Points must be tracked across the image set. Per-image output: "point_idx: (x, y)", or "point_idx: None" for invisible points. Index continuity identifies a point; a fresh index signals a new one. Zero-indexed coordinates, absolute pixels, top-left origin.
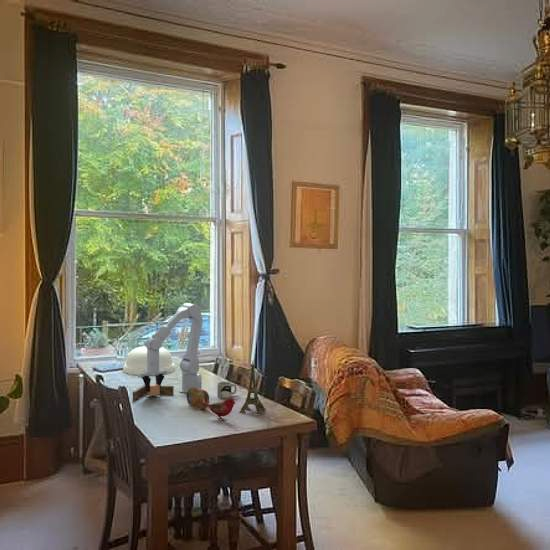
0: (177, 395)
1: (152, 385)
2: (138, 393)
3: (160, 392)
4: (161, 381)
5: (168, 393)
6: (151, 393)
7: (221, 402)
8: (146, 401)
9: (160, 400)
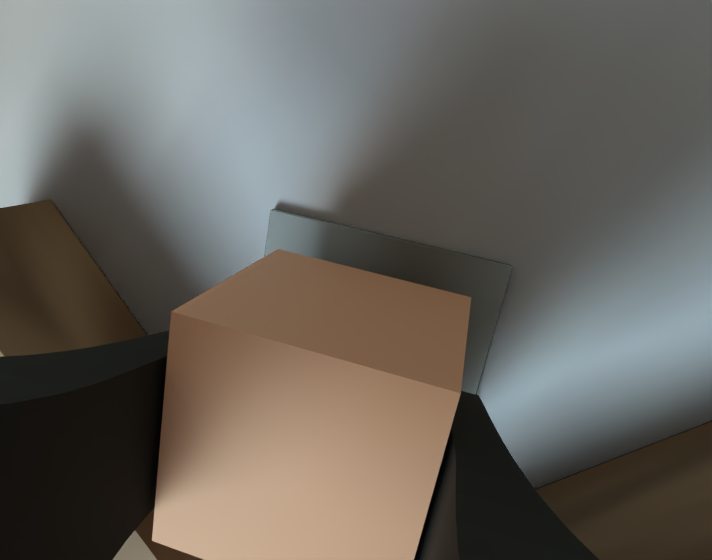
0: (8, 98)
1: (347, 440)
2: (670, 518)
3: None
4: (22, 359)
5: (80, 266)
6: (454, 307)
7: None
8: (705, 161)
9: (438, 6)
